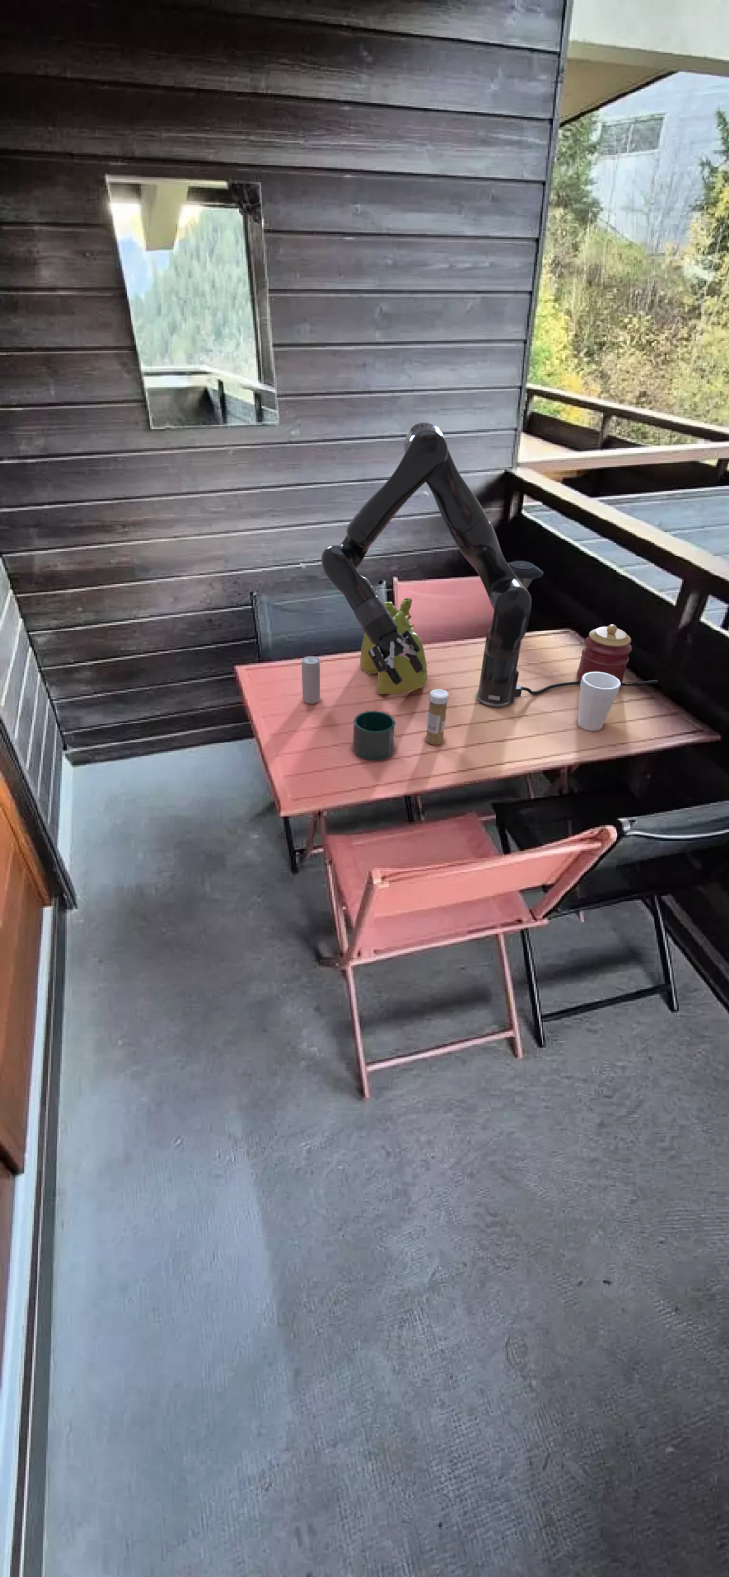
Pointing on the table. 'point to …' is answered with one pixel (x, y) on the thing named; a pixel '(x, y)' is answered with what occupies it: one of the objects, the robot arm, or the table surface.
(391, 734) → the cup
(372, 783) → the table surface
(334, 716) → the table surface
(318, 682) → the beverage can
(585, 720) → the foam cup
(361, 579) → the robot arm
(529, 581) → the solar garden light
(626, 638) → the kitchen canister
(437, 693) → the sprinkles bottle
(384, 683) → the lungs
